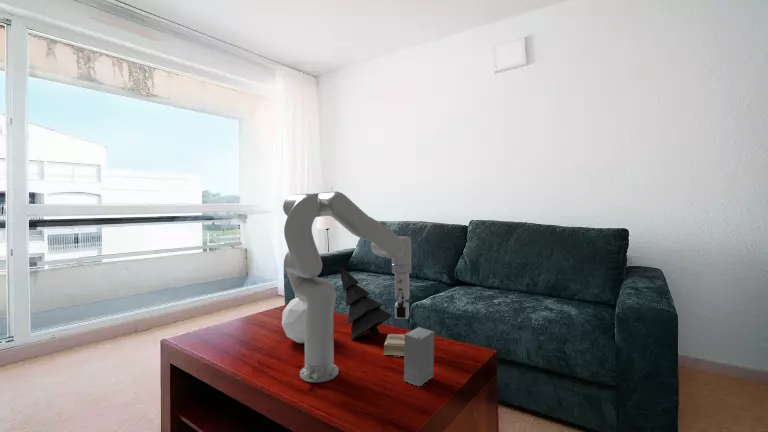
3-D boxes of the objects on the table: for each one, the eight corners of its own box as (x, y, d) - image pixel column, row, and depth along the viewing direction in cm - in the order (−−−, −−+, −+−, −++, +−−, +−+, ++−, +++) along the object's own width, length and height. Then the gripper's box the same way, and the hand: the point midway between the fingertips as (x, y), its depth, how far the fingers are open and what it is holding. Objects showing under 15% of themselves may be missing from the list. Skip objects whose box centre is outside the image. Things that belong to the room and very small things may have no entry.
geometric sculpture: (294, 360, 147) (262, 323, 144) (317, 328, 165) (289, 295, 162) (325, 346, 138) (292, 306, 136) (346, 314, 156) (317, 278, 153)
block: (407, 318, 138) (407, 305, 137) (394, 318, 138) (394, 305, 138) (408, 314, 142) (408, 302, 142) (396, 314, 143) (396, 301, 143)
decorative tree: (375, 338, 162) (340, 270, 173) (398, 324, 155) (360, 254, 166) (354, 349, 150) (318, 275, 161) (378, 334, 143) (339, 258, 154)
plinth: (416, 357, 134) (416, 345, 134) (384, 355, 136) (384, 344, 135) (417, 345, 146) (417, 334, 146) (388, 343, 147) (388, 333, 147)
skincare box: (417, 373, 121) (417, 325, 121) (435, 379, 117) (435, 330, 116) (402, 382, 115) (402, 332, 114) (421, 389, 110) (421, 337, 110)
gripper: (409, 272, 131) (409, 322, 131) (412, 265, 148) (413, 309, 148) (389, 272, 132) (389, 321, 132) (394, 264, 149) (394, 308, 149)
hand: (401, 314), depth 140 cm, fingers closed on block, 5 cm apart
